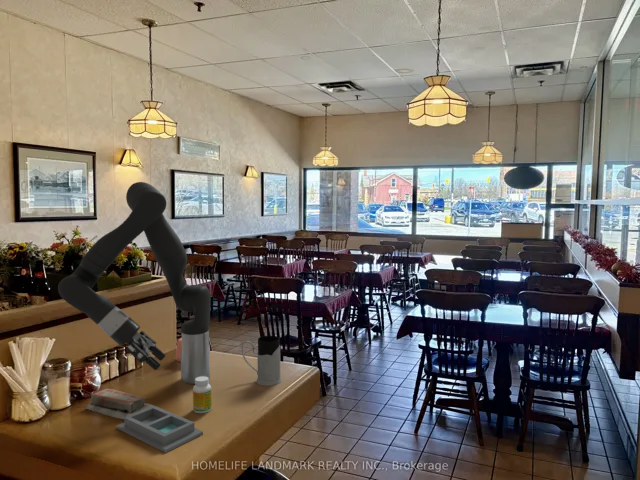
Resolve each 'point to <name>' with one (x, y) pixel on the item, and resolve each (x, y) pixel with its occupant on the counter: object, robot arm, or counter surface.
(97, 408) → the packaged product
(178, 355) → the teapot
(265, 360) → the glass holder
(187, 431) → the divided tray
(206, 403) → the supplement bottle
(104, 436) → the counter surface
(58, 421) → the counter surface
